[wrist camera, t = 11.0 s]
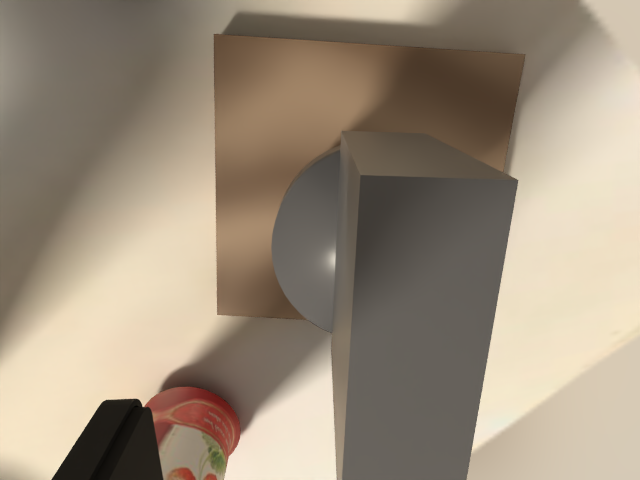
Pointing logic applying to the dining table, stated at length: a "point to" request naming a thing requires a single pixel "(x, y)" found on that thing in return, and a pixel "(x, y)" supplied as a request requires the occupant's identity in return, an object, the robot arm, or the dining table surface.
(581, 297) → the dining table surface
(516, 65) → the post mount
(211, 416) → the red sauce bottle
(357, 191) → the lever handle
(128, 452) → the robot arm
